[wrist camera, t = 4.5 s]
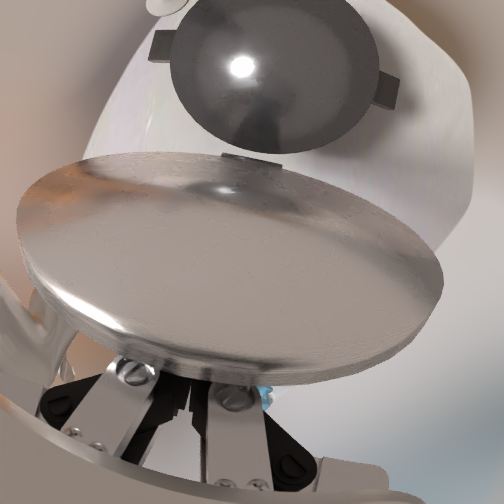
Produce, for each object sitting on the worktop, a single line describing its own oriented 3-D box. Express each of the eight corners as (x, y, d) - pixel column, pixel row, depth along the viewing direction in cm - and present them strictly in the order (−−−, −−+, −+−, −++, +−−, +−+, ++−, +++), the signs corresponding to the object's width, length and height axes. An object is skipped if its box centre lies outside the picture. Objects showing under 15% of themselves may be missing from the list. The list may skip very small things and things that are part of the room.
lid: (358, 183, 28) (348, 214, 29) (148, 141, 27) (144, 172, 28) (529, 352, 5) (475, 415, 7) (-72, 225, 4) (-50, 300, 6)
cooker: (349, 167, 38) (379, 184, 28) (166, 130, 37) (129, 134, 26) (377, 40, 29) (412, 17, 18) (195, 3, 28) (172, -31, 17)
